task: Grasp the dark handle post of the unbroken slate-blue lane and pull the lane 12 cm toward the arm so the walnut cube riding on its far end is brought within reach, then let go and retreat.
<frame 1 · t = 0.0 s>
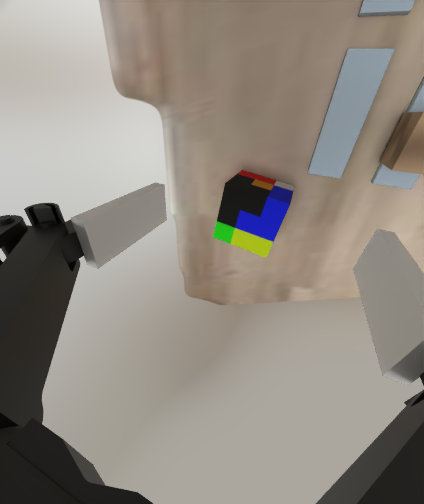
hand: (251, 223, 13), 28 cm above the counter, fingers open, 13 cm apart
cube: (416, 141, 27), point 1 cm above the counter, touching lane a
puzzle toy: (259, 202, 41), on the counter
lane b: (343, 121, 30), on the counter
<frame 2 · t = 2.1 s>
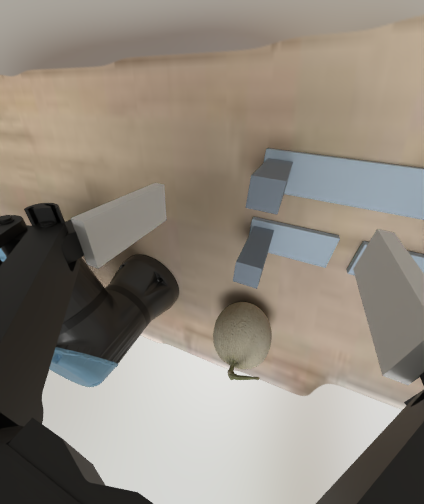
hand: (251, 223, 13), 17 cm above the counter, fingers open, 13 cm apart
lane a: (412, 204, 19), point 5 cm above the counter, slide at 0.0 cm, touching cube
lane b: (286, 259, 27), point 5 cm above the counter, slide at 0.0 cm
fruit: (249, 311, 43), on the counter
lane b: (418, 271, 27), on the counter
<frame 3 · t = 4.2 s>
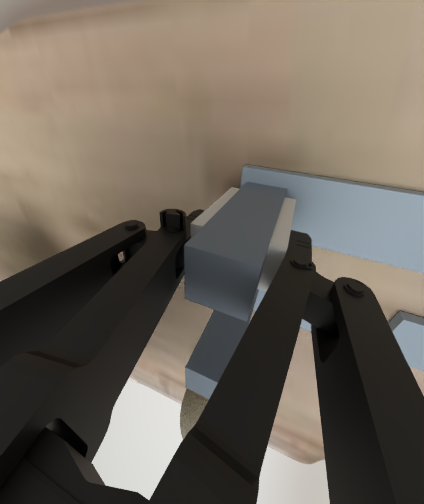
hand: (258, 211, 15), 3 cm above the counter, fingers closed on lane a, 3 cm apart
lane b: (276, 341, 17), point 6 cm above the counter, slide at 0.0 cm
fruit: (233, 369, 33), on the counter
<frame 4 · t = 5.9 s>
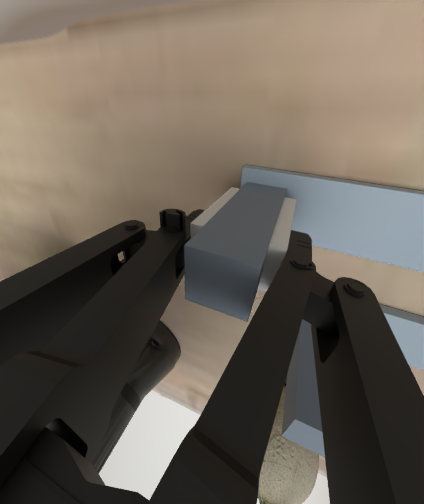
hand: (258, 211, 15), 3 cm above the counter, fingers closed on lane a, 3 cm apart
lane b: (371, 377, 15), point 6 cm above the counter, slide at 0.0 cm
fruit: (277, 389, 31), on the counter
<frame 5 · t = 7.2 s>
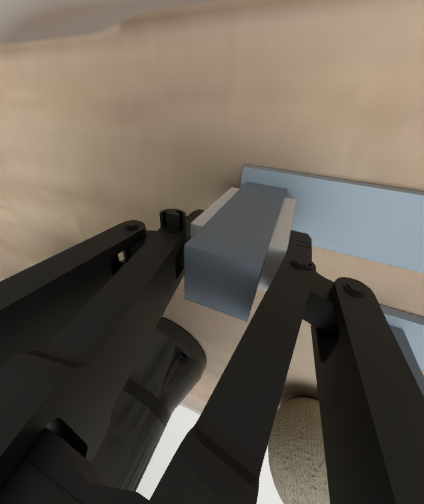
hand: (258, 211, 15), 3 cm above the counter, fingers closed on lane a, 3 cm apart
fruit: (312, 404, 29), on the counter
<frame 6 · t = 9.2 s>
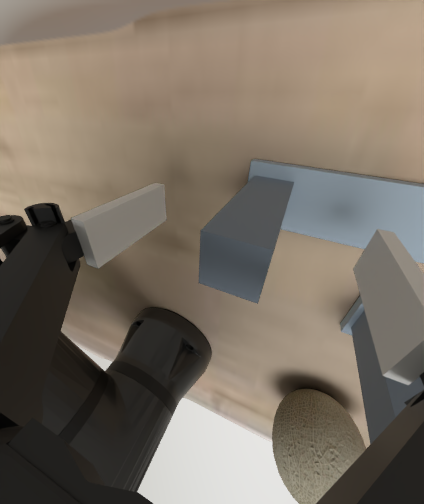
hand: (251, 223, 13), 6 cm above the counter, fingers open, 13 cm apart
fruit: (315, 396, 30), on the counter
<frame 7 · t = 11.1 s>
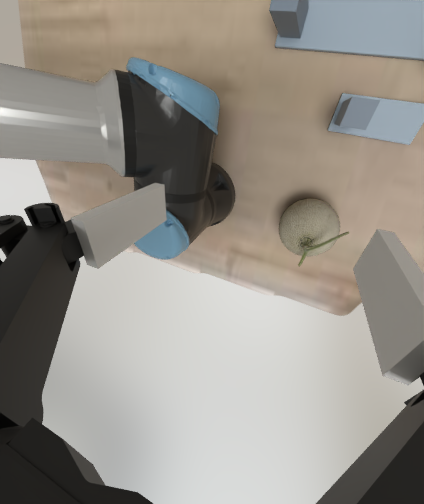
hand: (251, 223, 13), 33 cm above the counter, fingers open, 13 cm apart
lane a: (406, 15, 23), point 5 cm above the counter, slide at 12.0 cm, touching cube
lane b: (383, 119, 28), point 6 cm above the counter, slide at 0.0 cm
fruit: (307, 217, 44), on the counter
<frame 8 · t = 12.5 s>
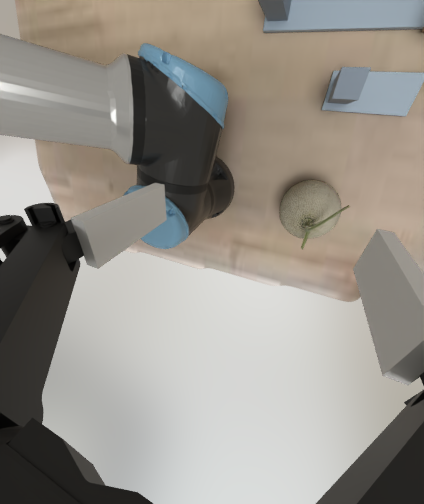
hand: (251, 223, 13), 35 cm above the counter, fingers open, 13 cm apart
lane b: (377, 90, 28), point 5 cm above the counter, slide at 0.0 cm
fruit: (308, 202, 44), on the counter
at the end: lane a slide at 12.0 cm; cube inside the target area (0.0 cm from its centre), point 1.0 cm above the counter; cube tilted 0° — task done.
